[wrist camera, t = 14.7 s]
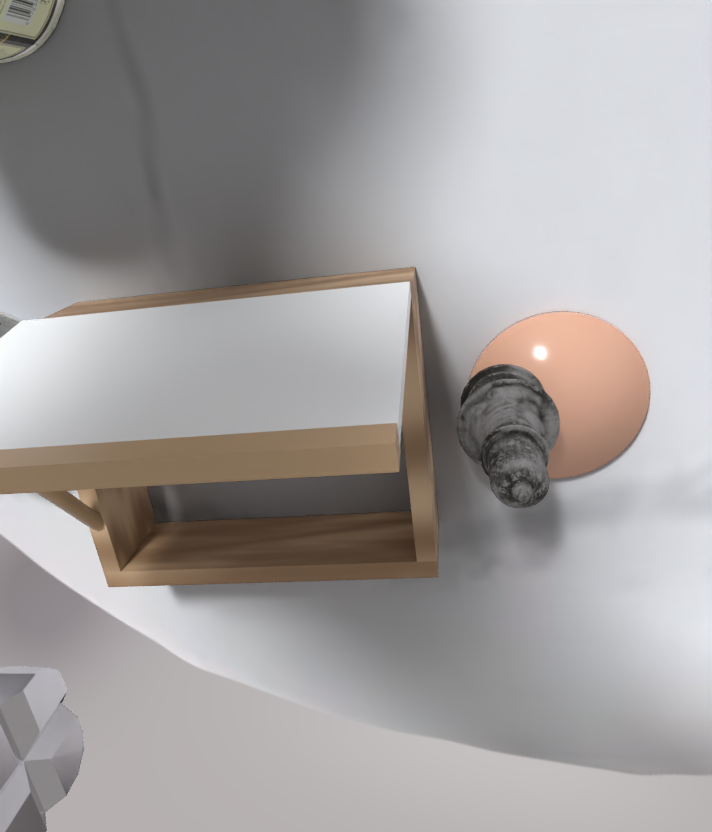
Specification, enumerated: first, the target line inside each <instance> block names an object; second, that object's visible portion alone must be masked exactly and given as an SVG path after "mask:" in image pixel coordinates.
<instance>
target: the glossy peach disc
mask: <svg viewBox="0 0 712 832" xmlns="http://www.w3.org/2000/svg"><path fill="white" fill-rule="evenodd" d="M498 364H512V365H516V366H519V367H523V368H524V369H526V370H528V371H530V372H531V373H533V374H534V375H535V376H536V377H537V379H538V380H539V381H540V383H541V384H542V386H543V388H544V390H545V392H546V393H547V394H548V395H549V396H550V397H551V398H552V400H553V401H554V403H555V405H556V407H557V409H558V413H559V418H560V430H559V435H558V438H557V440H556V443H555V445H554V447H553V448H552V449H551V451H550V452H549V462H548V465H547V467H546V468H547V471H548V475H549V479H558V478H568V477H573V476H577V475H581V474H584V473H587V472H590V471H593V470H595V469H597V468H599V467H601V466H603V465H605V464H606V463H608V462H609V461H611V460H612V459H614V458H615V457H616V456H618V455H619V454H620V453H621V452H622V451H623V450H624V449H625V448H626V447H627V446H628V445H629V444H630V443H631V441H632V440H633V439H634V438H635V436H636V435H637V433H638V431H639V430H640V428H641V426H642V424H643V422H644V419H645V417H646V414H647V410H648V407H649V400H650V381H649V375H648V371H647V368H646V365H645V362H644V360H643V358H642V356H641V354H640V353H639V351H638V350H637V348H636V347H635V346H634V344H633V343H632V342H631V341H630V340H629V339H628V338H627V337H626V336H625V335H624V334H623V333H622V332H621V331H620V330H619V329H617V328H616V327H615V326H613V325H612V324H610V323H608V322H606V321H604V320H602V319H600V318H597V317H595V316H592V315H588V314H584V313H579V312H570V311H555V312H548V313H542V314H538V315H534V316H531V317H528V318H526V319H523V320H521V321H518V322H517V323H515V324H513V325H511V326H510V327H508V328H506V329H505V330H504V331H502V332H501V333H500V334H498V335H497V336H496V337H495V338H494V339H493V340H492V341H491V342H490V343H489V344H488V345H487V347H486V348H485V349H484V350H483V351H482V353H481V354H480V356H479V358H478V359H477V361H476V363H475V365H474V367H473V370H472V372H471V375H470V379H471V378H472V377H473V376H474V375H476V374H477V373H478V372H479V371H481V370H483V369H485V368H487V367H490V366H494V365H498ZM470 379H469V380H470Z"/></svg>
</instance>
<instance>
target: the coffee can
mask: <svg viewBox="0 0 712 832" xmlns="http://www.w3.org/2000/svg"><path fill="white" fill-rule="evenodd" d="M64 3H65V0H0V63H7V62H10V61H15V60H19V59H21V58H23V57H25V56H28V55H29V54H31V53H33V52H34V51H35V50H37V49H38V48H39V47H40V46H41V45H42V44H43V43H44V42H45V41H46V40H47V39H48V38H49V36H50V35H51V33H52V32H53V31H54V29H55V28H56V25H57V23H58V20H59V18H60V15H61V12H62V10H63V7H64Z"/></svg>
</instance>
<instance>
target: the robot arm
mask: <svg viewBox="0 0 712 832" xmlns="http://www.w3.org/2000/svg"><path fill="white" fill-rule="evenodd" d="M67 691H68V690H67V687H66V685H65V683H64V681H63V679H62V676H61V674H60V672H59V670H55V669H51V668H47V667H0V832H46V831H47V828H46V817H45V812H46V811H48V810H49V809H50V808H51V807H53V806H54V805H55V804H56V803H58V802H59V801H60V800H62V799H63V798H64V797H65V796H66V795H67V793H68V792H69V790H70V788H71V786H72V784H73V783H74V781H75V779H76V777H77V775H78V772H79V768H80V764H81V759H82V756H83V752H84V741H83V730H82V727H81V725H80V722H79V719H78V716H77V715H75V714H74V713H73V712H72V711H71V710H69V709H68V708H67V707H66V706H65V705H63V704H62V702H63V700H64V697H65V695H66V693H67Z"/></svg>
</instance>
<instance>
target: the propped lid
mask: <svg viewBox="0 0 712 832" xmlns="http://www.w3.org/2000/svg"><path fill="white" fill-rule="evenodd" d="M410 305H411V290H410V281H409V282H399V283H389V284H379V285H370V286H360V287H350V288H340V289H330V290H320V291H311V292H301V293H291V294H281V295H271V296H261V297H252V298H242V299H232V300H222V301H212V302H202V303H193V304H183V305H173V306H163V307H153V308H143V309H134V310H124V311H114V312H104V313H94V314H84V315H75V316H65V317H55V318H45V319H35V320H25V321H21V322H20V323H18V324H17V325H16V326H15V327H13V328H12V329H11V330H10V331H9V332H7V333H6V334H5V335H4V336H2V337H1V338H0V494H15V493H33V492H36V493H38V494H39V495H41V496H42V497H44V498H45V499H47V500H48V501H50V502H51V503H53V504H55V505H56V506H58V507H59V508H61V509H62V510H64V511H65V512H67V513H68V514H70V515H71V516H73V517H74V518H76V519H77V520H79V521H81V522H82V523H84V524H85V525H87V526H88V527H90V528H91V529H93V530H99V529H101V528H102V527H103V526H104V522H103V519H102V517H101V516H100V515H99V514H98V513H97V512H96V511H94V510H93V509H92V508H90V507H89V506H87V505H86V504H84V503H83V502H82V501H80V500H79V499H77V498H76V497H75V496H73V495H72V494H70V493H69V492H67V491H69V490H87V489H105V488H123V487H141V486H159V485H177V484H195V483H213V482H231V481H249V480H267V479H285V478H303V477H321V476H339V475H357V474H375V473H393V472H399V468H400V454H401V450H400V441H401V427H402V414H403V400H404V387H405V373H406V359H407V346H408V332H409V319H410Z"/></svg>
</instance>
